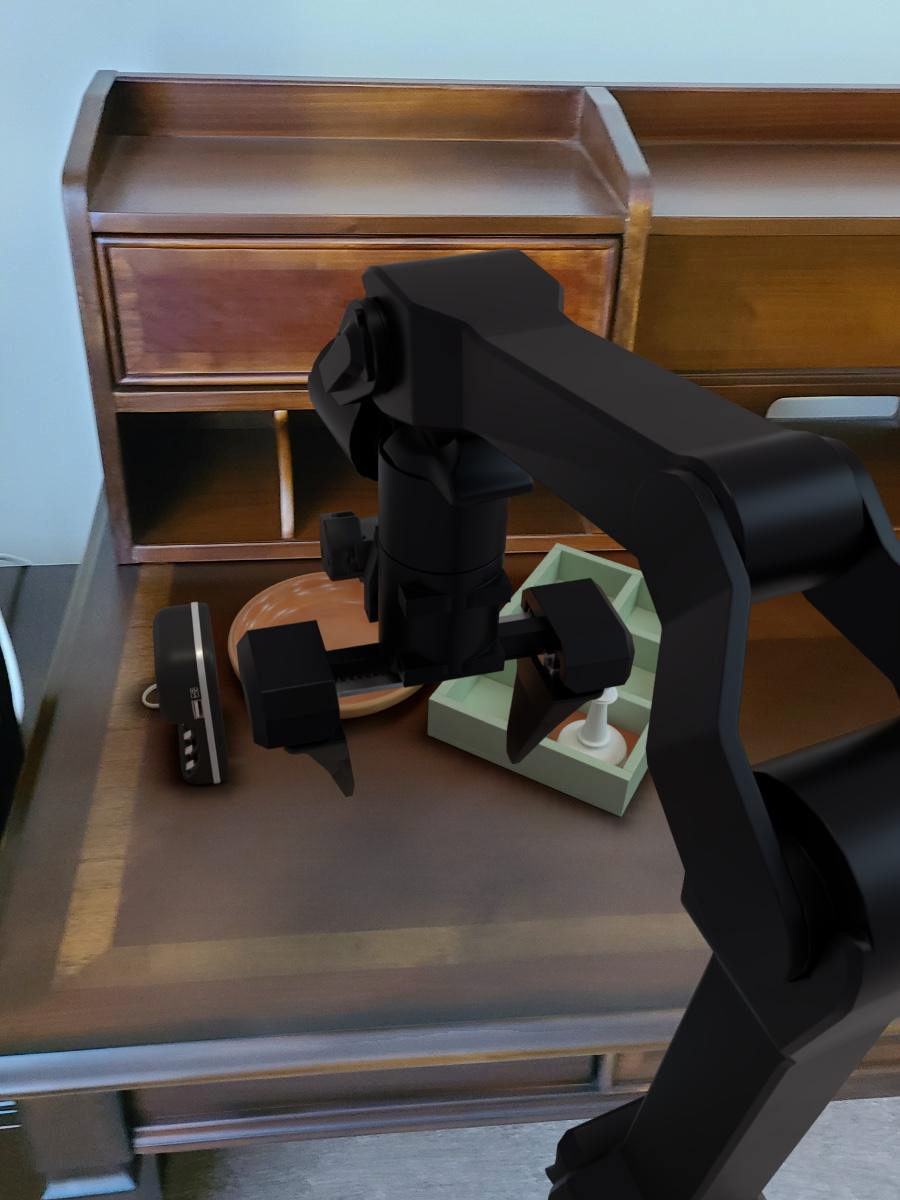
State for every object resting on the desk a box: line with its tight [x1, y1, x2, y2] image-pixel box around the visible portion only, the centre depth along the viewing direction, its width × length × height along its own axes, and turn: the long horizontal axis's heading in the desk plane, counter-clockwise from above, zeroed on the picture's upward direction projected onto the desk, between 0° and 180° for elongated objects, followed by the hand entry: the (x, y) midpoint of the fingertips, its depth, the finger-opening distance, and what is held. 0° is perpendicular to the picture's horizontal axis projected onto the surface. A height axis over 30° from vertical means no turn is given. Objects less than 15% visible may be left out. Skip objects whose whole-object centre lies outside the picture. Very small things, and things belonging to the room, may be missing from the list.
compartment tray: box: [427, 542, 661, 818], centre depth 80 cm, size 22×15×4 cm
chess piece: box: [557, 687, 627, 768], centre depth 71 cm, size 5×5×10 cm
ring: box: [141, 683, 160, 709], centre depth 78 cm, size 3×1×3 cm
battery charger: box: [152, 601, 231, 785], centre depth 70 cm, size 7×4×11 cm, turn 14°
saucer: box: [227, 571, 424, 720], centre depth 81 cm, size 16×16×3 cm
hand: (431, 773), depth 57 cm, fingers open, 9 cm apart
